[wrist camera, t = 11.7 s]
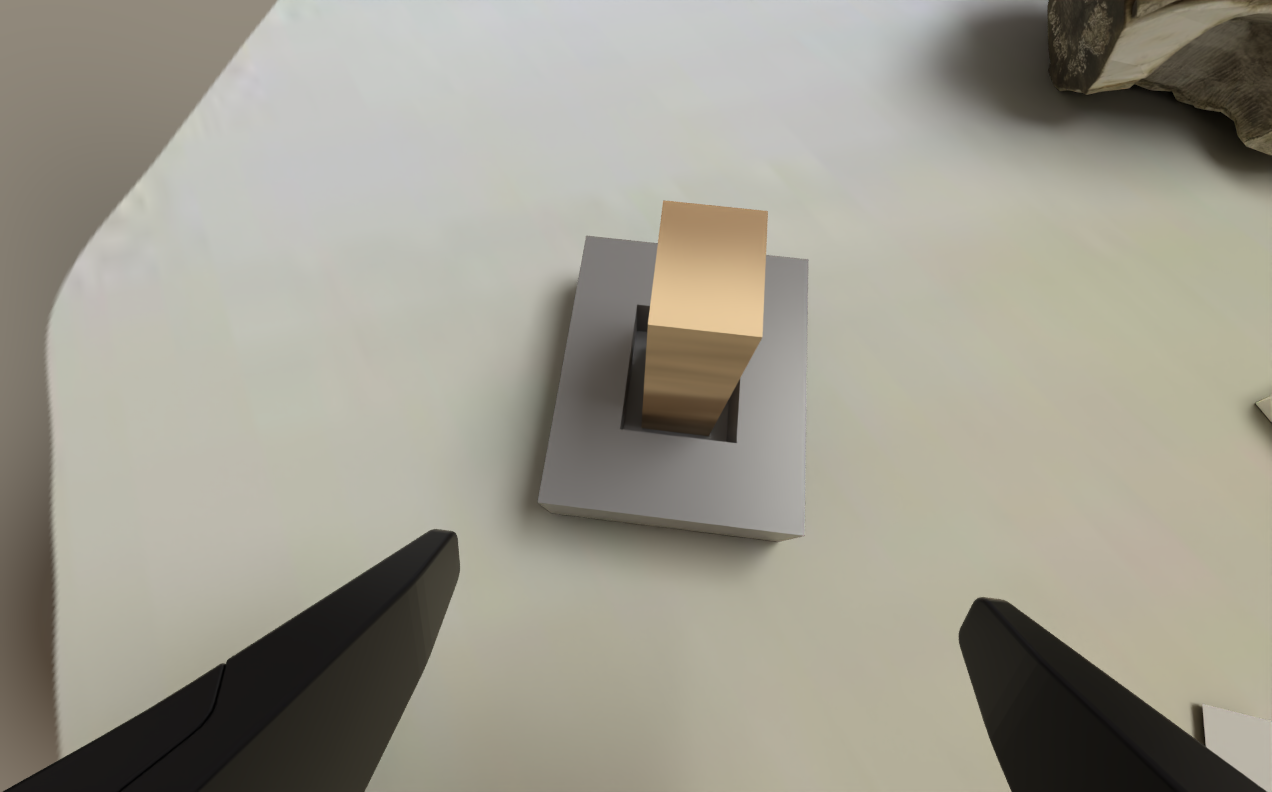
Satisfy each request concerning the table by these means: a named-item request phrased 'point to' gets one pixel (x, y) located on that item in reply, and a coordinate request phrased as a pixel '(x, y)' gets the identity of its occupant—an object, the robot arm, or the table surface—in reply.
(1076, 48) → the hollow geode rock
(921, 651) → the table surface
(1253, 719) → the crown molding
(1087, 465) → the table surface
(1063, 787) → the robot arm
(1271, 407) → the tray
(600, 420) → the end cap
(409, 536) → the table surface
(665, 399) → the tan wooden block
